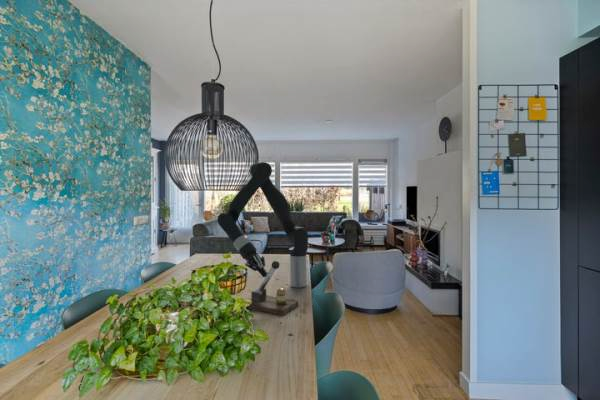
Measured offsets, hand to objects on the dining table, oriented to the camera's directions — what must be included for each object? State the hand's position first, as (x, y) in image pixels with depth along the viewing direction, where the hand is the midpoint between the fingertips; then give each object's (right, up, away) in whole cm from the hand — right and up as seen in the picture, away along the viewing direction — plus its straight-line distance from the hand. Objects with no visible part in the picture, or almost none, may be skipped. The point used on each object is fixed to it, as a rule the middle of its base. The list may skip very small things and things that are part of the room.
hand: (265, 275), depth 143 cm
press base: (+2, -14, -1) cm, 14 cm away
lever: (-4, -9, +2) cm, 11 cm away
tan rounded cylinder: (+7, -12, -4) cm, 14 cm away
